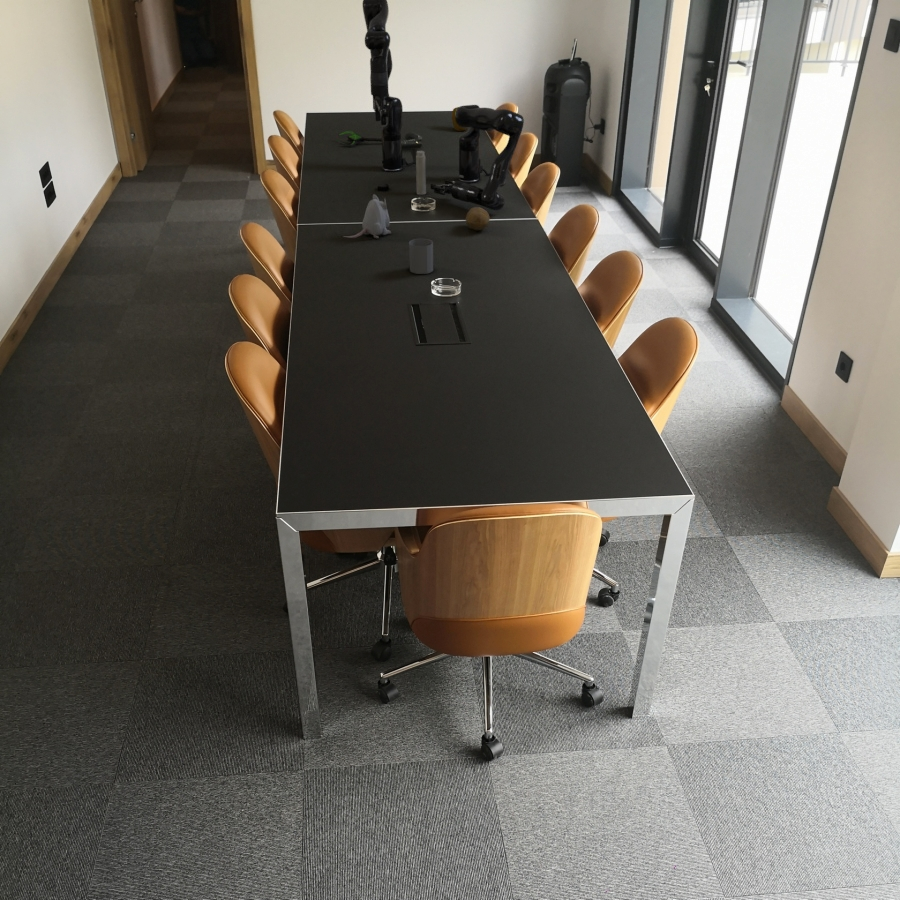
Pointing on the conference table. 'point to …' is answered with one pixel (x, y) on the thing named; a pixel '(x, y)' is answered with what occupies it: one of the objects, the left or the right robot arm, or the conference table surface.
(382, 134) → the left robot arm
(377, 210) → the toy
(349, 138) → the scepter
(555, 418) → the conference table surface
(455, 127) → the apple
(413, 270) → the cup
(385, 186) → the lid
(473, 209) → the potato
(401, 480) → the conference table surface
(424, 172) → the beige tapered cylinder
